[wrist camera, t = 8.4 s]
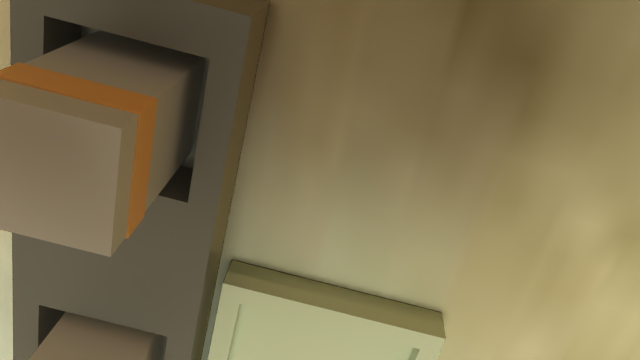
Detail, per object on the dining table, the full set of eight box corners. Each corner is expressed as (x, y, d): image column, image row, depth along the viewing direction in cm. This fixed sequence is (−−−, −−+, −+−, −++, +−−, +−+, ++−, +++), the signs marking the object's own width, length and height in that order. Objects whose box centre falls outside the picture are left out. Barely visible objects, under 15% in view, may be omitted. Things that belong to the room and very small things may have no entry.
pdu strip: (269, 1, 19) (209, 54, 12) (190, 414, 27) (129, 581, 21) (63, -53, 18) (-120, -32, 12) (49, 379, 27) (-60, 536, 20)
